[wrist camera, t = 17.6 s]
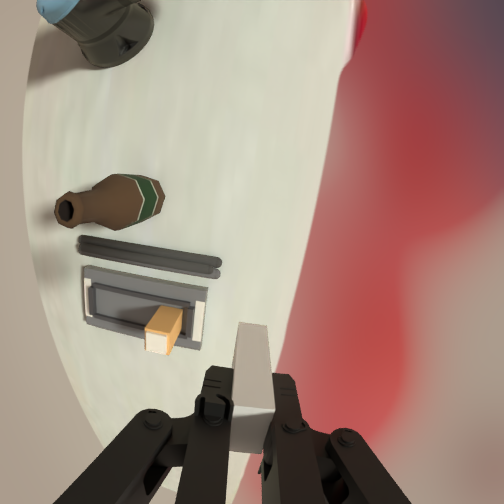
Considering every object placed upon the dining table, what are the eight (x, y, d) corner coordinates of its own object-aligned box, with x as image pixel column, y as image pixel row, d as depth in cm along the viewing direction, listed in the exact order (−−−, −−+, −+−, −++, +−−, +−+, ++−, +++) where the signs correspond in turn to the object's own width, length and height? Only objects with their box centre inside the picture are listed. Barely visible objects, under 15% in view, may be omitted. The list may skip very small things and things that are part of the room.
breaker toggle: (161, 305, 49) (143, 329, 40) (182, 309, 50) (168, 335, 40) (160, 324, 50) (143, 351, 41) (181, 329, 50) (168, 357, 41)
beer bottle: (147, 229, 49) (71, 265, 25) (117, 200, 47) (29, 215, 24) (175, 195, 47) (110, 206, 24) (144, 166, 46) (62, 155, 23)
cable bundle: (81, 252, 50) (73, 256, 46) (82, 233, 49) (73, 236, 46) (220, 278, 51) (218, 284, 47) (223, 256, 50) (221, 261, 47)
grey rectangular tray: (89, 264, 50) (80, 269, 47) (208, 287, 51) (205, 294, 48) (91, 319, 53) (83, 326, 49) (201, 345, 54) (198, 354, 50)
